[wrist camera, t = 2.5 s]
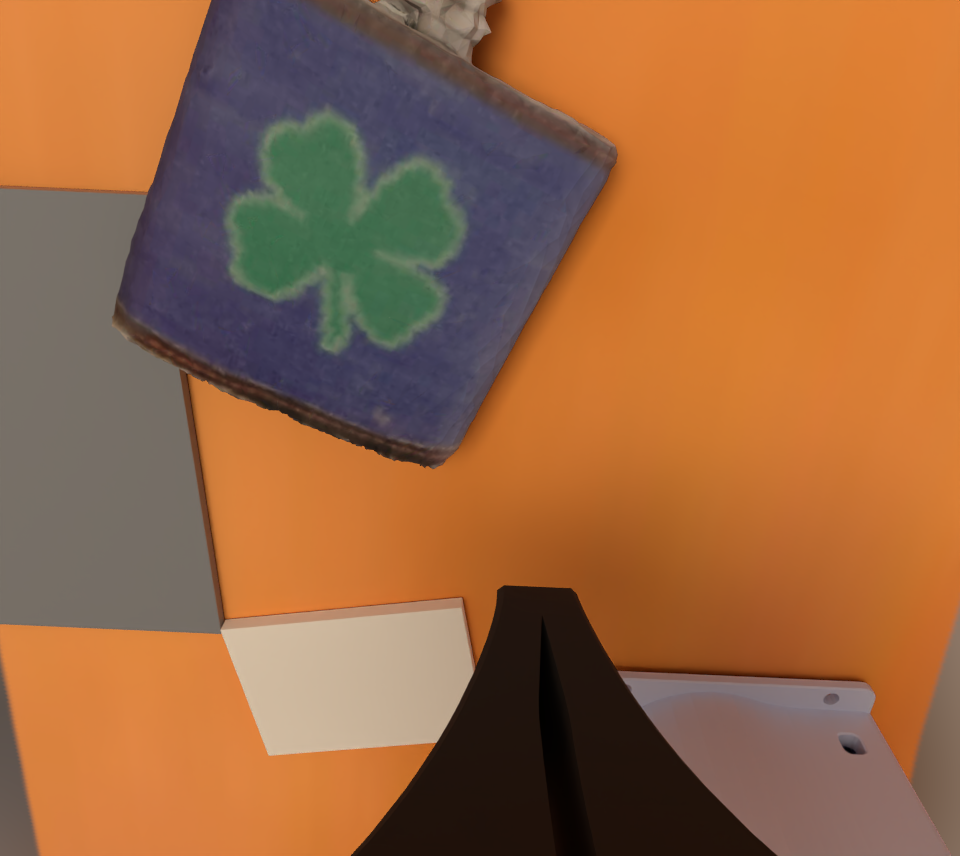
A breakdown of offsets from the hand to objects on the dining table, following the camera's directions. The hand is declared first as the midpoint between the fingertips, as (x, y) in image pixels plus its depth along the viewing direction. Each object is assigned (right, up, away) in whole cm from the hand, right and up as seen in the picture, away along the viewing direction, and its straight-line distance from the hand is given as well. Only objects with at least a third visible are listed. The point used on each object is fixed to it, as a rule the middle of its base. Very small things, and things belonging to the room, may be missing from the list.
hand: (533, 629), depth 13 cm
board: (-13, +3, +8) cm, 16 cm away
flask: (-6, +4, +5) cm, 9 cm away
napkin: (-5, -5, +12) cm, 14 cm away
